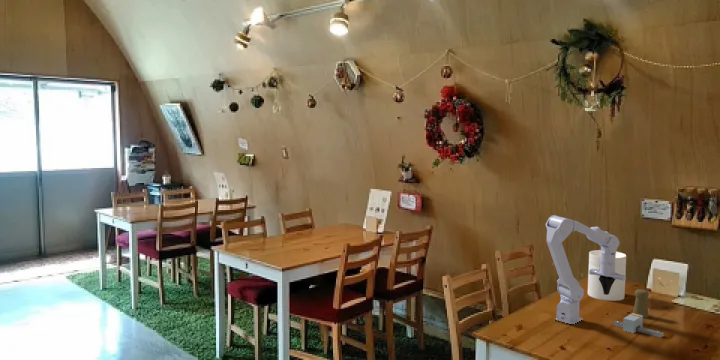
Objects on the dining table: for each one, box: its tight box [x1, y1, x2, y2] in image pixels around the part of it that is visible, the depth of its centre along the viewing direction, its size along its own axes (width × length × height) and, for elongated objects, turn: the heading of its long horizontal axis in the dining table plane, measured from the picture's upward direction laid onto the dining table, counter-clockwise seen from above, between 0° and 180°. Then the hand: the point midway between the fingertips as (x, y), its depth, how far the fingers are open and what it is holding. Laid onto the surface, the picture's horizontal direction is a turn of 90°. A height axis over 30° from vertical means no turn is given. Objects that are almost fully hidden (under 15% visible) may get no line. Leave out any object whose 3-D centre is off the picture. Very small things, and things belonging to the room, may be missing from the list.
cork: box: [632, 288, 650, 319], centre depth 235 cm, size 6×6×11 cm
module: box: [622, 312, 644, 334], centre depth 219 cm, size 9×4×5 cm, turn 133°
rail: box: [613, 320, 664, 338], centre depth 218 cm, size 2×18×2 cm, turn 43°
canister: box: [587, 249, 627, 302], centre depth 262 cm, size 16×16×20 cm
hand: (606, 294), depth 234 cm, fingers closed
